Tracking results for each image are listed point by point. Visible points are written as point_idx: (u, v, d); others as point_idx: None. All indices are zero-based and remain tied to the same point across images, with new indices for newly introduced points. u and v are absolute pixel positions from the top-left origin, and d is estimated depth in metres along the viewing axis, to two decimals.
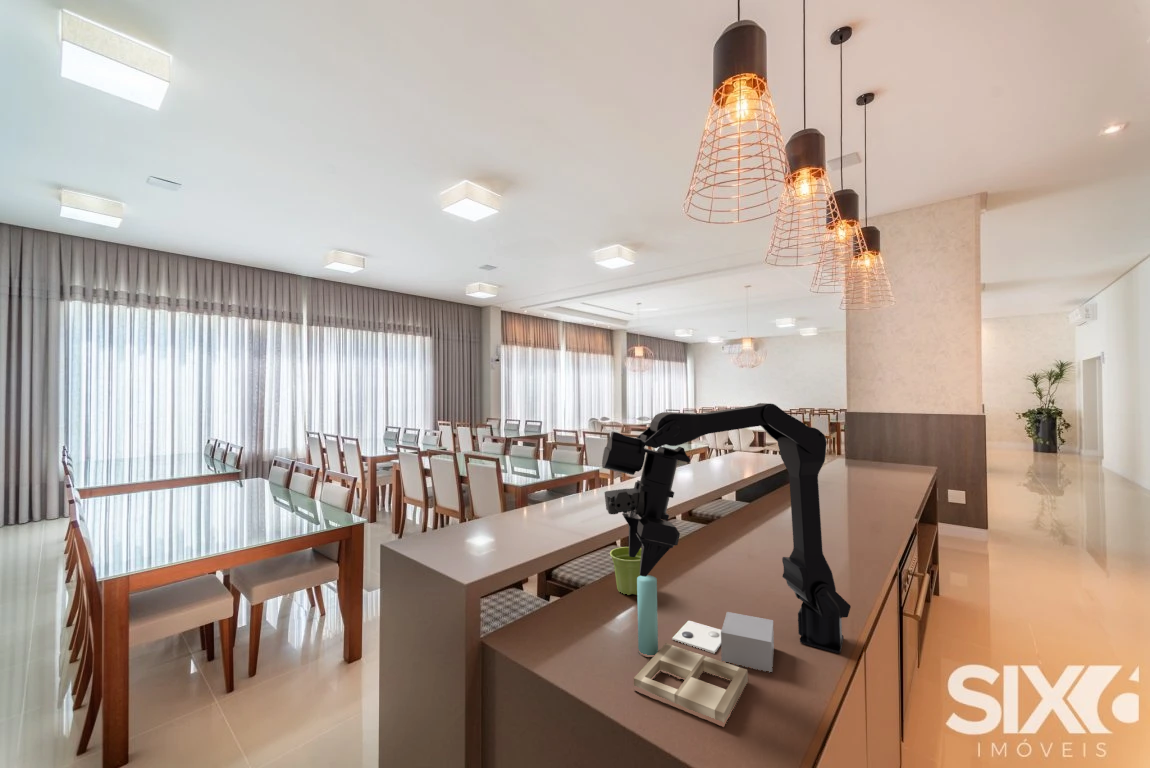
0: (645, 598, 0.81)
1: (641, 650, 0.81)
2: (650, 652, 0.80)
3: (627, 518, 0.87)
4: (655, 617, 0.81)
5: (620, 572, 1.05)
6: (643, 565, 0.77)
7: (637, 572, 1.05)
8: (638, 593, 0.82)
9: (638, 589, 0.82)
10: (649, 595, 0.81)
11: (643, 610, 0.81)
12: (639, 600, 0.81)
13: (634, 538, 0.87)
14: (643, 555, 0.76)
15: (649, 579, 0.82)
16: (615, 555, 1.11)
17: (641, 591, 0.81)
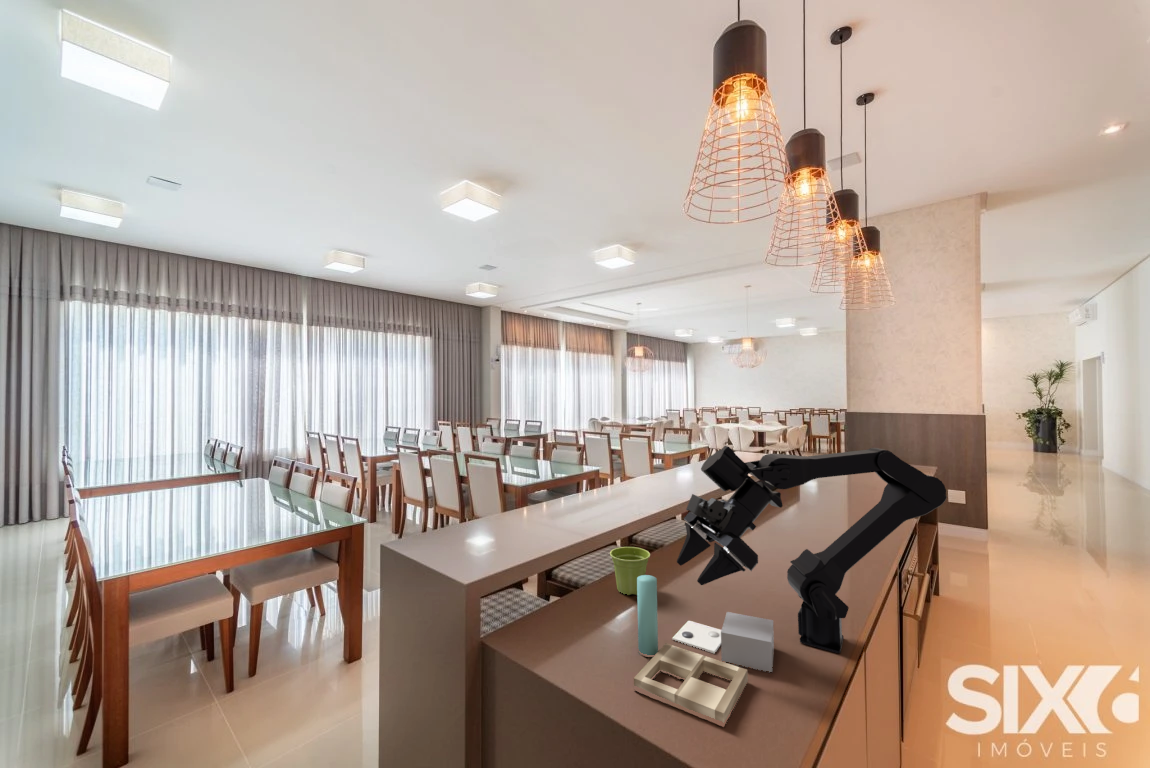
0: (645, 598, 0.81)
1: (641, 650, 0.81)
2: (650, 652, 0.80)
3: (691, 528, 0.89)
4: (655, 617, 0.81)
5: (620, 572, 1.05)
6: (706, 574, 0.79)
7: (637, 572, 1.05)
8: (638, 593, 0.82)
9: (638, 589, 0.82)
10: (649, 595, 0.81)
11: (643, 610, 0.81)
12: (639, 600, 0.81)
13: (688, 549, 0.89)
14: (712, 565, 0.78)
15: (649, 579, 0.82)
16: (615, 555, 1.11)
17: (641, 591, 0.81)
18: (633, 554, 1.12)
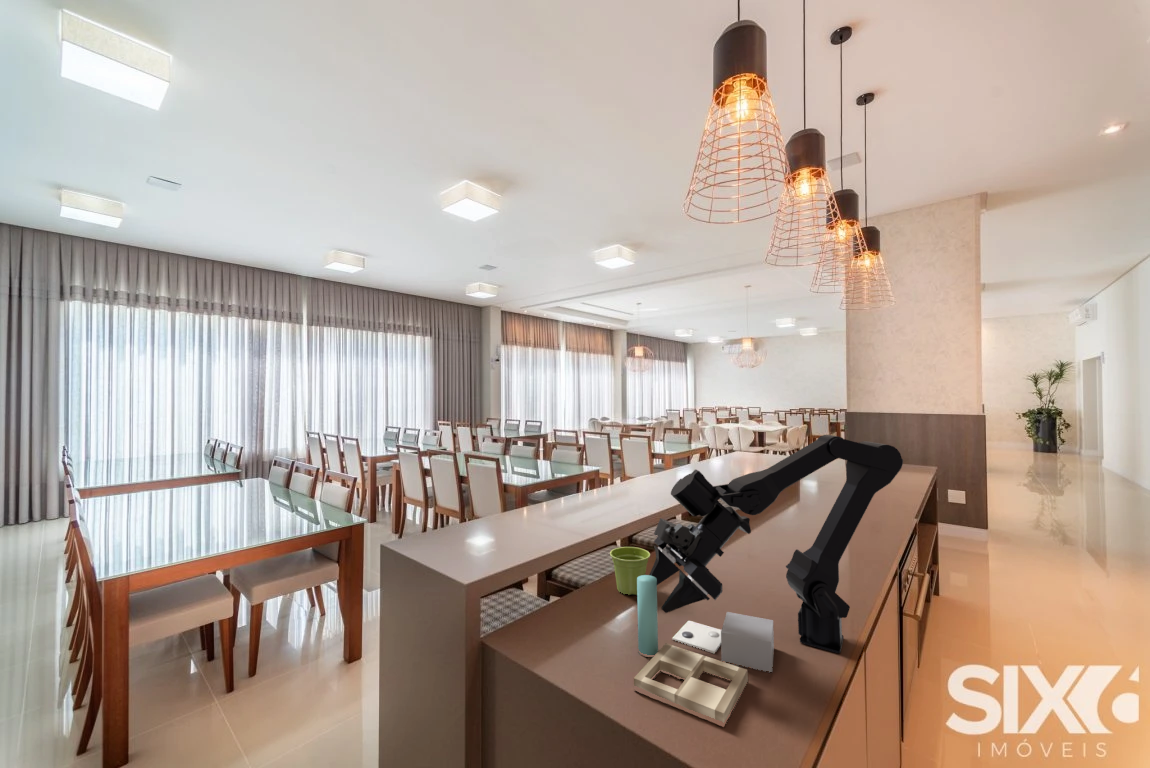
0: (645, 598, 0.81)
1: (641, 650, 0.81)
2: (650, 652, 0.80)
3: (660, 552, 0.88)
4: (655, 617, 0.81)
5: (620, 572, 1.05)
6: (670, 601, 0.77)
7: (637, 572, 1.05)
8: (638, 593, 0.82)
9: (638, 589, 0.82)
10: (649, 595, 0.81)
11: (643, 610, 0.81)
12: (639, 600, 0.81)
13: (656, 573, 0.88)
14: (676, 593, 0.77)
15: (649, 579, 0.82)
16: (615, 555, 1.11)
17: (641, 591, 0.81)
18: (633, 554, 1.12)
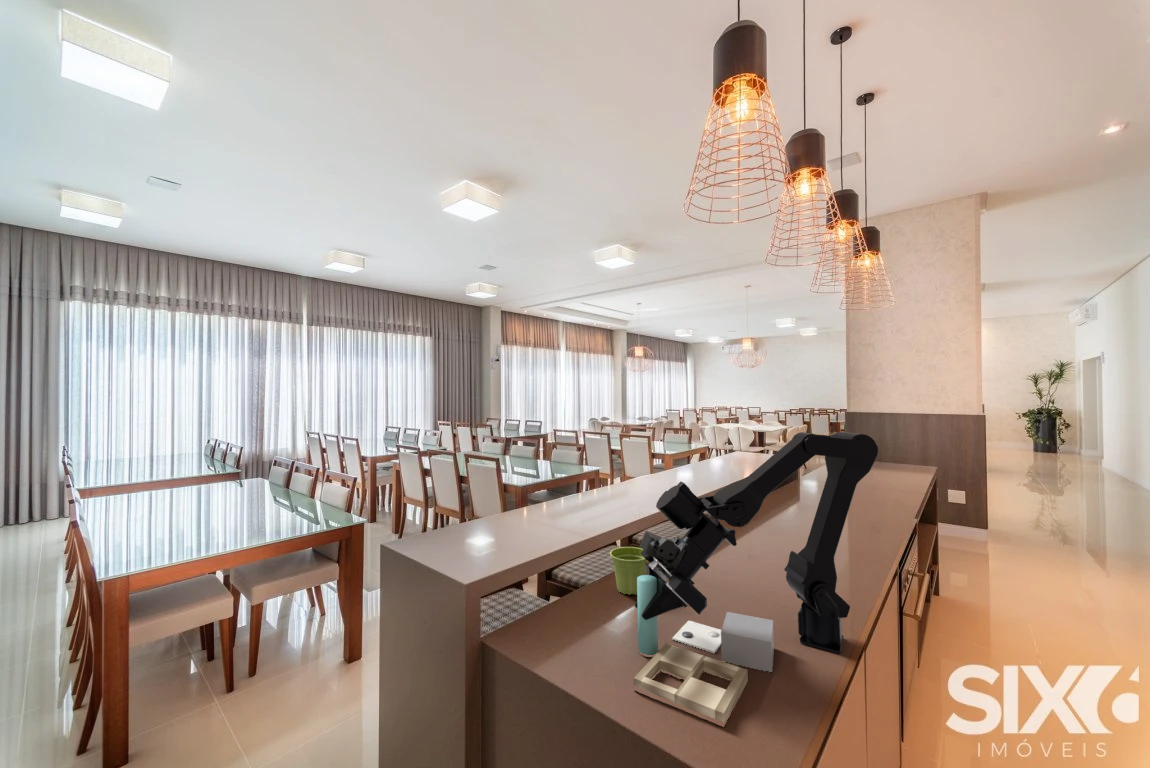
0: (645, 598, 0.81)
1: (641, 650, 0.81)
2: (650, 652, 0.80)
3: (651, 570, 0.85)
4: (655, 617, 0.81)
5: (620, 572, 1.05)
6: (650, 609, 0.80)
7: (637, 572, 1.05)
8: (638, 593, 0.82)
9: (638, 589, 0.82)
10: (649, 595, 0.81)
11: (643, 610, 0.81)
12: (639, 600, 0.81)
13: None
14: (655, 600, 0.79)
15: (649, 579, 0.82)
16: (615, 555, 1.11)
17: (641, 591, 0.81)
18: (633, 554, 1.12)
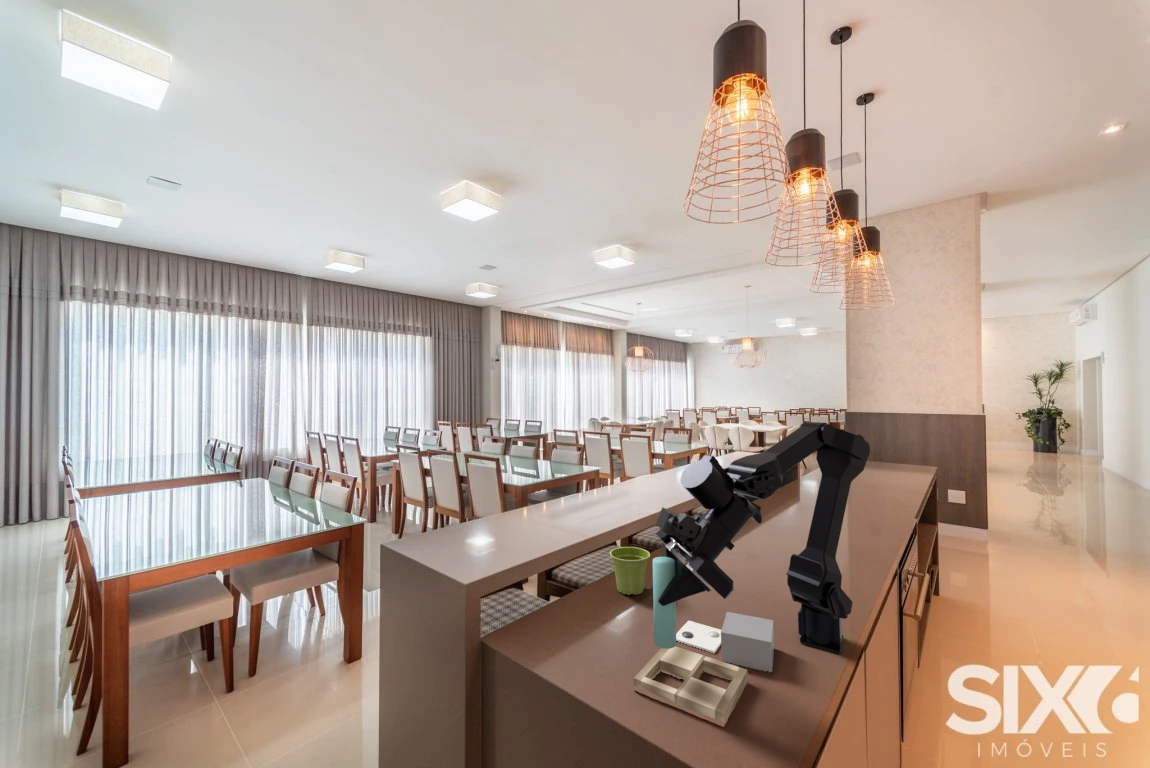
0: (662, 582, 0.72)
1: (657, 640, 0.72)
2: (667, 642, 0.71)
3: (668, 551, 0.76)
4: (673, 603, 0.72)
5: (620, 572, 1.05)
6: (667, 593, 0.71)
7: (637, 572, 1.05)
8: (654, 576, 0.73)
9: (654, 572, 0.73)
10: (666, 578, 0.72)
11: (659, 595, 0.72)
12: (655, 584, 0.73)
13: None
14: (674, 584, 0.70)
15: (667, 561, 0.73)
16: (615, 555, 1.11)
17: (658, 574, 0.72)
18: (633, 554, 1.12)
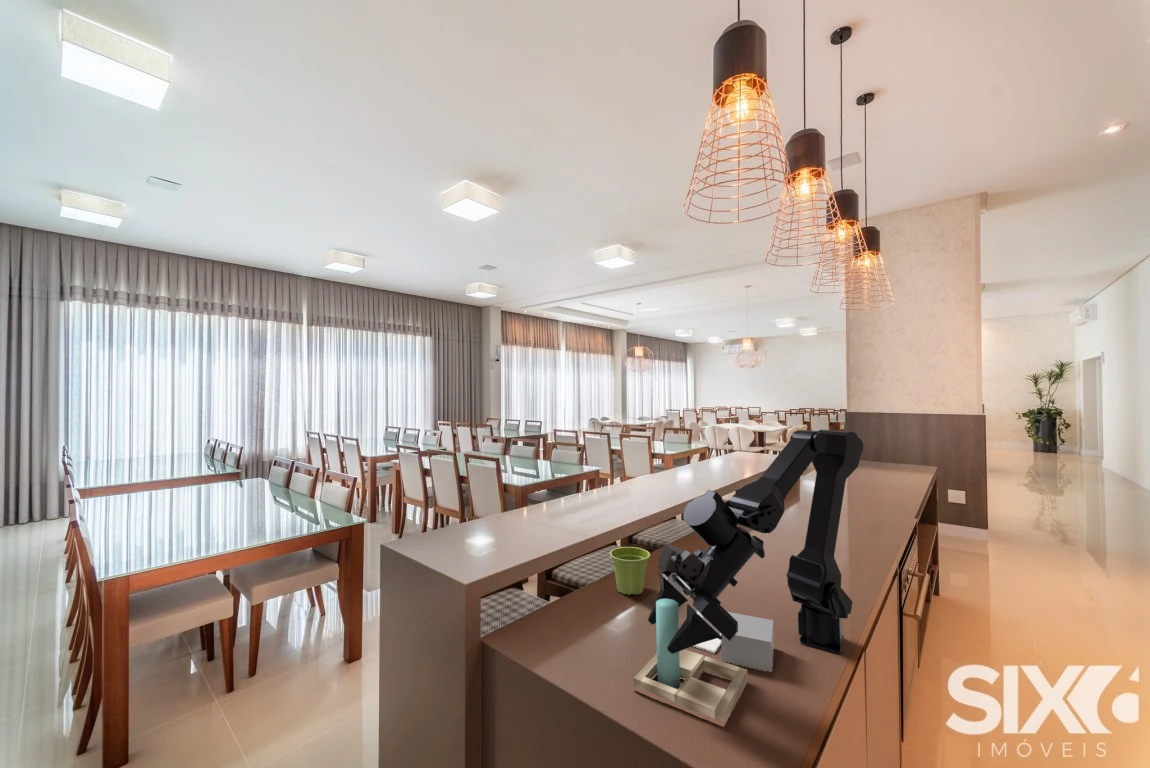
0: (666, 626, 0.71)
1: None
2: None
3: (665, 581, 0.78)
4: None
5: (620, 572, 1.05)
6: (677, 641, 0.67)
7: (637, 572, 1.05)
8: (657, 620, 0.72)
9: (657, 615, 0.72)
10: (670, 622, 0.71)
11: (663, 640, 0.71)
12: (659, 628, 0.72)
13: None
14: (684, 631, 0.67)
15: (670, 604, 0.72)
16: (615, 555, 1.11)
17: (661, 618, 0.71)
18: (633, 554, 1.12)
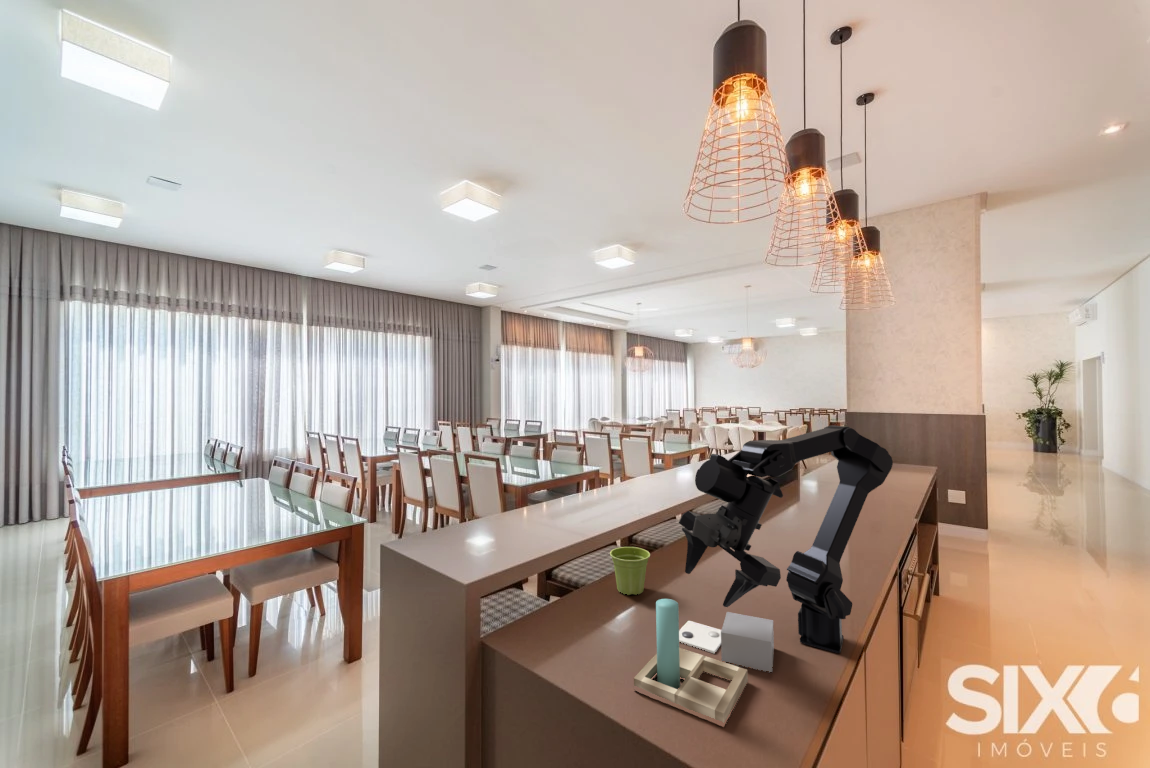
0: (666, 627, 0.71)
1: None
2: None
3: (693, 537, 0.83)
4: (677, 648, 0.71)
5: (620, 572, 1.05)
6: (731, 598, 0.76)
7: (637, 572, 1.05)
8: (657, 620, 0.72)
9: (657, 615, 0.72)
10: (670, 622, 0.71)
11: (663, 640, 0.71)
12: (658, 628, 0.72)
13: (693, 556, 0.84)
14: (737, 590, 0.75)
15: (670, 604, 0.72)
16: (615, 555, 1.11)
17: (661, 618, 0.71)
18: (633, 554, 1.12)
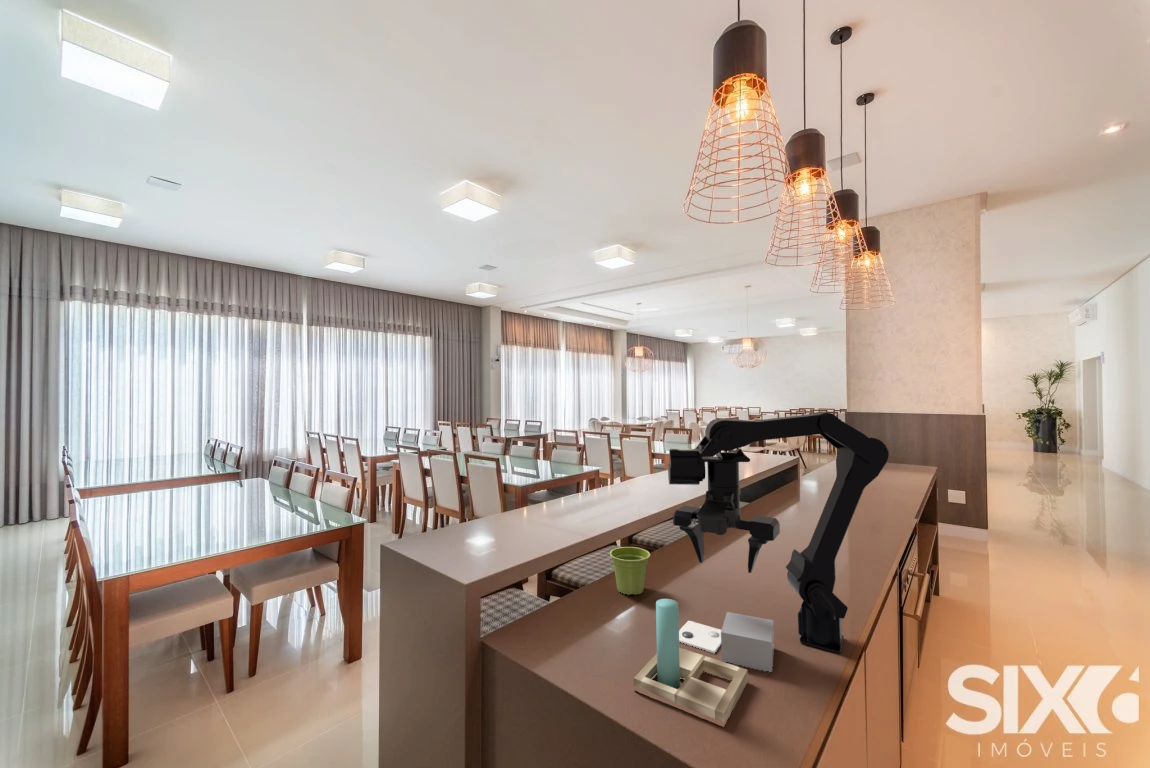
0: (666, 627, 0.71)
1: None
2: None
3: (693, 530, 0.88)
4: (677, 648, 0.71)
5: (620, 572, 1.05)
6: (753, 563, 0.84)
7: (637, 572, 1.05)
8: (657, 620, 0.72)
9: (657, 615, 0.72)
10: (670, 622, 0.71)
11: (663, 640, 0.71)
12: (658, 628, 0.72)
13: (699, 545, 0.90)
14: (755, 555, 0.83)
15: (670, 604, 0.72)
16: (615, 555, 1.11)
17: (661, 618, 0.71)
18: (633, 554, 1.12)
